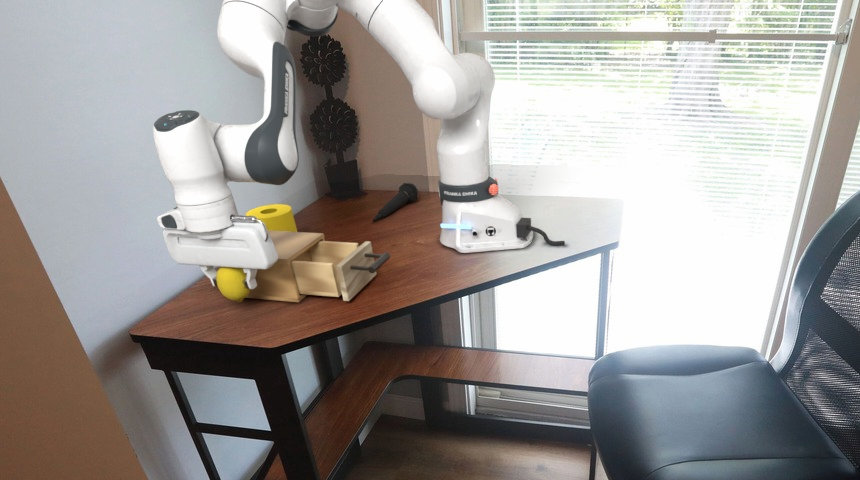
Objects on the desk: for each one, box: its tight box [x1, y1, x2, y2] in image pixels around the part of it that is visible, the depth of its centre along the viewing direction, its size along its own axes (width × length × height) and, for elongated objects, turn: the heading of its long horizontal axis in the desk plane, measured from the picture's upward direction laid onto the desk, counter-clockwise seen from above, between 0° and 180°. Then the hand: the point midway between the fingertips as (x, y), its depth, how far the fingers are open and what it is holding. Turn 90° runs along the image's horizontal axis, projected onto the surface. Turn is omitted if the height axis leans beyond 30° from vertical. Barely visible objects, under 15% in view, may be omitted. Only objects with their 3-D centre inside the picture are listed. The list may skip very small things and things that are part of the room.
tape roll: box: [245, 203, 298, 232], centre depth 133 cm, size 10×10×9 cm
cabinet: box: [244, 230, 326, 303], centre depth 116 cm, size 16×14×9 cm
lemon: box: [216, 267, 250, 303], centre depth 105 cm, size 6×6×8 cm
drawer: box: [290, 240, 391, 302], centre depth 113 cm, size 20×12×7 cm, turn 76°
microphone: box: [372, 182, 419, 222], centre depth 155 cm, size 6×6×20 cm
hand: (235, 286), depth 106 cm, fingers closed on lemon, 5 cm apart
